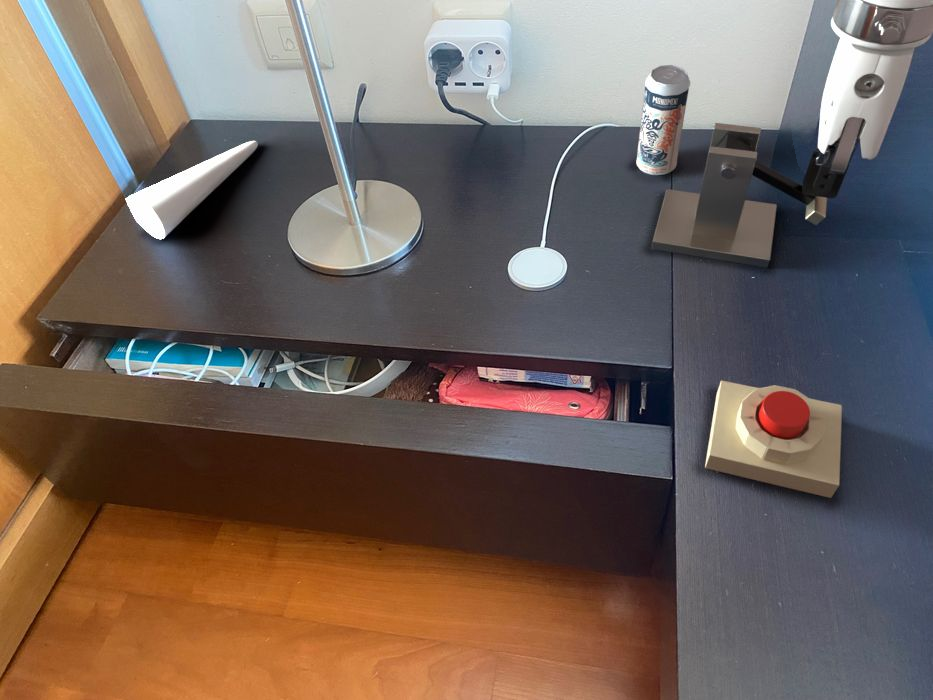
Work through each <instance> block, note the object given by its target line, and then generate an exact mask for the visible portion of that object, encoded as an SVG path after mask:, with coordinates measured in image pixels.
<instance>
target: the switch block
mask: <svg viewBox="0 0 933 700" xmlns="http://www.w3.org/2000/svg"><path fill="white" fill-rule="evenodd" d="M776 391H788V392H791V393H794V394H796V395H798V396H800V397H801V398H802V399H803V400H804V401H805V402H806V403H807V405H808V407H809V410H810V417H809V419H808V421H807V423H806V425H805V427H804V429H803V431H802V432H801V433H800V434H799V435H798V436H796V437H794V438H790V439H782V438H777V437H774V436H772V435H770V434H769V433H767V432H766V431H765V430H764V429H763V428H762V426H761V425H760V423H759V419H758V414H759V411H760V409H761V406H762V404H763V401H764V399H765V398H766V397H767V396H768V395H769V394H771V393H773V392H776ZM842 418H843V405H842V404H839V403H833V402H829V401H823V400H819V399H814V398H810V397H808V396H806V395H805V394H803V393H802V392H800V391H799V390H797V389H796V388H790V387H785V386H781V385H774V384H773V385H769V386H764V387H755V386H751V385H746V384H741V383H736V382H731V381H727V380H720V382H719V386H718V388H717V392H716V396H715V402H714V410H713V415H712V421H711V428H710V433H709V440H708V445H707V452H706V457H705V464H704V468H705V469H707V470H711V471H714V472H715V471H716V472H721V473H725V474H727V475H733V476H735V477H736V476H737V477H740V478H746V479H750V480H753V481H758V482H762V483H766V484H771V485H773V486H778V487H783V488H786V489H791V490H795V491H799V492H804V493H808V494H812V495H816V496H821V497H825V498H829V499H832V497H833V495H834V494H835V492H836V491H837V489H838V488H839V487H840V477H841V475H840V473H841V450H842V449H841V448H842V420H843V419H842Z"/></svg>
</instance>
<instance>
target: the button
mask: <svg viewBox="0 0 933 700" xmlns="http://www.w3.org/2000/svg"><path fill="white" fill-rule="evenodd" d="M809 417H810V410H809V407H808V405H807V403H806V402H805V401H804V400H803V399H802V398H801V397H800V396H798V395H796V394H794V393H791V392H788V391H776V392H773V393H771V394H769V395H768V396H767V397H766V398H765V399H764V401H763V404H762V406H761V409H760V411H759V414H758V419H759V423H760V425H761V426H762V428H763V429H764V430H765V431H766V432H767V433H769V434H770V435H772V436H774V437H777V438H782V439H790V438H794V437H796V436H798V435H799V434H800V433H801V432H802V431H803V429H804V427H805V425H806V423H807V421H808V419H809Z"/></svg>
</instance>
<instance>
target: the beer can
mask: <svg viewBox="0 0 933 700" xmlns="http://www.w3.org/2000/svg"><path fill="white" fill-rule="evenodd" d="M690 87H691V80H690V77H689V75H688V72H687V71H686V70H685V69H684V68H683V67H681V66H677V65H673V64H667V65H666V64H664V65H659V66H657V67H655V68H653V69H652V70H651V71H650V73H649V74H648V76H647V78H646V79H645V82H644V93H643V102H642V109H641V110H642V111H641V119H640V128H639V136H638V146H637V153H636V161H635V162H636V163H635V164H636V166H637V167H638V169H639V170H640V171H642V172H643V173H644V174H647V175H651V176H660V175H661V176H662V175H663V176H664V175H667V174H669V173H671V172H672V171H674V170H675V169H676V167H677V165H678V156H679V150H680V146H681V145H680V144H681V140H682V139H681V138H682V133H683V132H682V131H683V125H684V121H685V114H686V108H687V102H688V98H689V97H688V96H689V90H690Z"/></svg>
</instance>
